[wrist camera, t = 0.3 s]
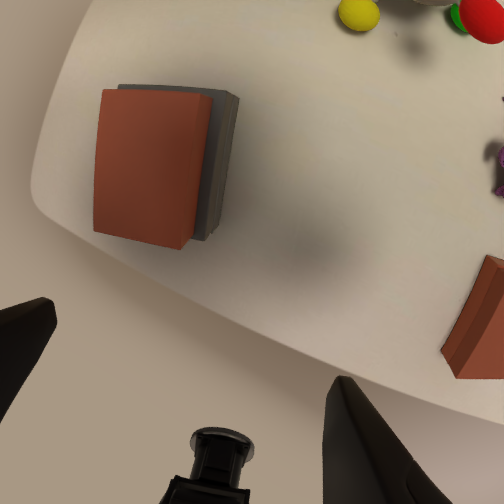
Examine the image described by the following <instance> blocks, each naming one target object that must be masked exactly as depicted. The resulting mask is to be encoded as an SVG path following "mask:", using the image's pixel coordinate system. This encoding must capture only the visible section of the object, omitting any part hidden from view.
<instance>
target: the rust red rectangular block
mask: <svg viewBox="0 0 504 504" xmlns="http://www.w3.org/2000/svg"><path fill="white" fill-rule="evenodd" d="M212 101H213V98H211V97H209V96H206V95H203V94H200V93H191V92H178V91H162V90H136V89H104V90H103V92H102V99H101V106H100V114H99V123H98V132H97V143H96V156H95V173H94V206H93V226H94V231H95V232H100V233H104V234H109V235H113V236H118V237H122V238H127V239H131V240H136V241H140V242H145V243H149V244H154V245H159V246H163V247H168V248H172V249H177V250H181V249H182V248H183V246H184V245H185V244H186V243H187V242H188V240H189V239H190V238H191V237H192V236H193V235H194V227H195V218H196V210H197V202H198V194H199V186H200V179H201V172H202V164H203V158H204V151H205V144H206V138H207V131H208V125H209V119H210V113H211V107H212Z"/></svg>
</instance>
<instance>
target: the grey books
mask: <svg viewBox="0 0 504 504" xmlns="http://www.w3.org/2000/svg"><path fill="white" fill-rule="evenodd" d="M118 89H136V90H162V91H178V92H191V93H200V94H203V95H206V96H209V97H211V98H213V101H212V107H211V113H210V119H209V125H208V131H207V138H206V144H205V151H204V158H203V164H202V172H201V179H200V186H199V194H198V202H197V210H196V218H195V227H194V235H193V236H192V237H191V239H196V240H201V241H205V240H206V238H207V237H208V236H209V234H210V233H213V232H214V231H215V229H216V228H217V227H218V225H219V221H220V215H221V208H222V201H223V195H224V188H225V182H226V175H227V169H228V163H229V157H230V151H231V145H232V139H233V133H234V127H235V122H236V116H237V110H238V105H239V97H237V96H235V95H233V94H231V93H229V92H228V91H224V90H216V89H206V88H195V87H182V86H166V85H136V84H119V85H118Z"/></svg>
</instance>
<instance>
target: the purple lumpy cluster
mask: <svg viewBox="0 0 504 504" xmlns="http://www.w3.org/2000/svg"><path fill="white" fill-rule="evenodd" d="M503 100H504V98H503ZM498 158H499V161H500V165H501V166H502V167H504V147H503V148H502V149H501V150H499V153H498ZM503 185H504V184H503ZM495 194H496V195H502V196H503V198H504V186H501V187H499V188H498V189H497V190H496V191H495Z"/></svg>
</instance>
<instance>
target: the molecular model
mask: <svg viewBox="0 0 504 504" xmlns="http://www.w3.org/2000/svg"><path fill="white" fill-rule="evenodd" d="M377 1H379V0H342V1H341V2H340V5H339V8H338V13H339V17H340V19H341V20H342V22H343V23H344V24H345V25H346V26H347V27H349V28H351V29H353V30H356V31H368V30H371V29H373V28H374V27H375V26H376V25H377V24H378V22H379V19H380V11H379V9H378V7H377V5H376V4H375V3H376V2H377ZM413 1H416V2H418V3H421V4H425V5H431V6H446V5H450V4H453V5H452V7H451V12H450V14H451V18H452V20H453V22H454V23H455V25H456V26H457V27H458V28H460V29H461V30H463V31H464V32H467V33H469V34H470V35H471V36H473V37H474V38H475V39H477V40H479V41H481V42H483V43H487V44H497V43H500V42H502V41H503V40H504V9H503V7H502V6H501V5H500V4H499V3H498V2H497V1H496V0H413Z"/></svg>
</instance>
